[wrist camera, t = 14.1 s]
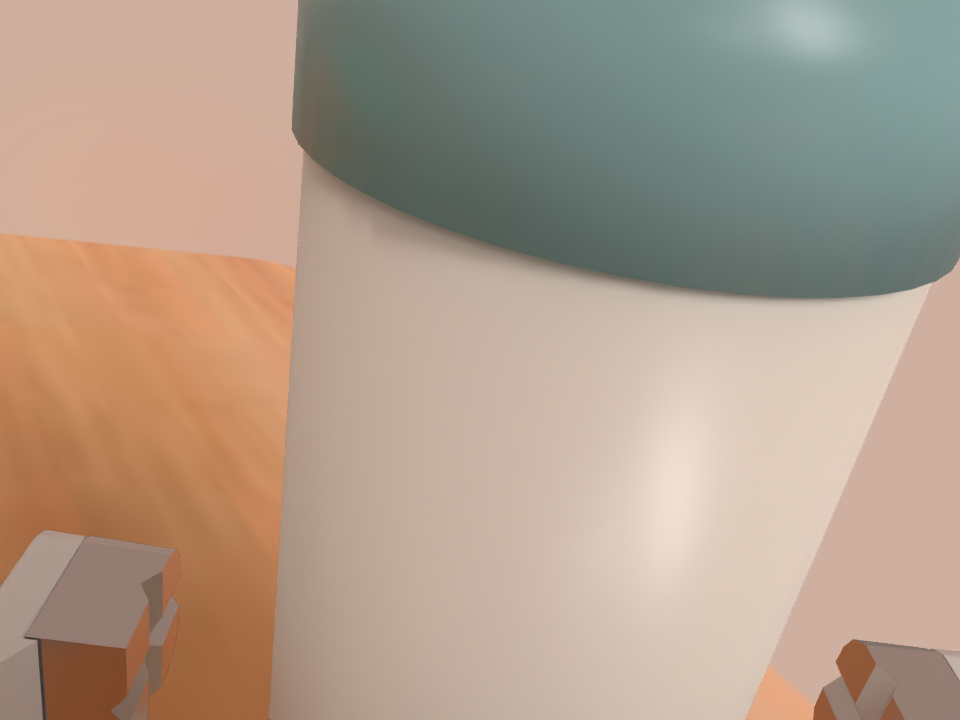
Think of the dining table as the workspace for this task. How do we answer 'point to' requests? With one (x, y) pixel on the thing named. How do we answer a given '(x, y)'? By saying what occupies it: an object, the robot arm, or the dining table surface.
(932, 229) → the cylinder
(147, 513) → the dining table surface
